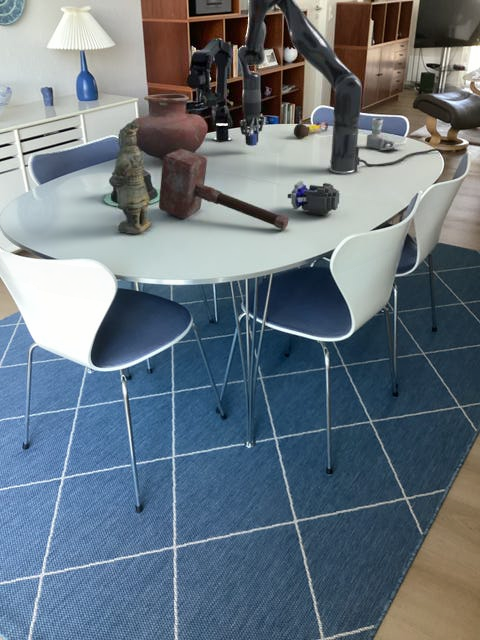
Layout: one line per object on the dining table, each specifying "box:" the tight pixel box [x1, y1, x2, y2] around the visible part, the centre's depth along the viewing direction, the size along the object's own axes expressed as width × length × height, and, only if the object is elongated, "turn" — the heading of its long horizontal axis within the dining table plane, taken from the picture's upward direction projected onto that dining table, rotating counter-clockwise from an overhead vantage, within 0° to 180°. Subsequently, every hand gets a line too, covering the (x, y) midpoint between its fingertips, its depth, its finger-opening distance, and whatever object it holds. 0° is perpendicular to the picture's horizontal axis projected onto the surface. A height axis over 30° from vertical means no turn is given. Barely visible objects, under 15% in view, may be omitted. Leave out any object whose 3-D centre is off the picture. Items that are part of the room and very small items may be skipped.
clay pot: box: [131, 93, 209, 161], centre depth 222 cm, size 30×30×25 cm
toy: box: [287, 180, 341, 216], centre depth 168 cm, size 9×9×15 cm
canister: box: [248, 132, 258, 147], centre depth 233 cm, size 4×4×4 cm
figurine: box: [293, 119, 329, 139], centre depth 263 cm, size 13×8×25 cm
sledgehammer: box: [158, 149, 290, 231], centre depth 163 cm, size 17×10×40 cm
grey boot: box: [365, 117, 406, 152], centre depth 234 cm, size 9×12×15 cm
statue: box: [108, 120, 153, 235], centre depth 154 cm, size 11×9×30 cm
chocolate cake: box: [103, 168, 160, 207], centre depth 186 cm, size 15×19×20 cm
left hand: (205, 124), depth 237 cm, fingers open, 9 cm apart
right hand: (251, 143), depth 233 cm, fingers closed on canister, 4 cm apart
